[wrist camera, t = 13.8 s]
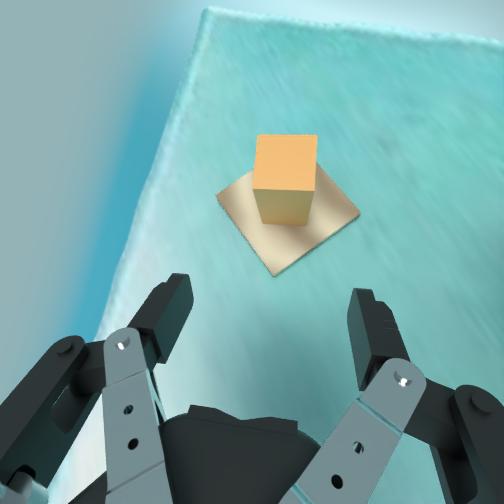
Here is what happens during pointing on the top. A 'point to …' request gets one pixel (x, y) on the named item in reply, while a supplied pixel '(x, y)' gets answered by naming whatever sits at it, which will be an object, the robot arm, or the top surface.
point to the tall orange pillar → (285, 178)
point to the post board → (288, 236)
